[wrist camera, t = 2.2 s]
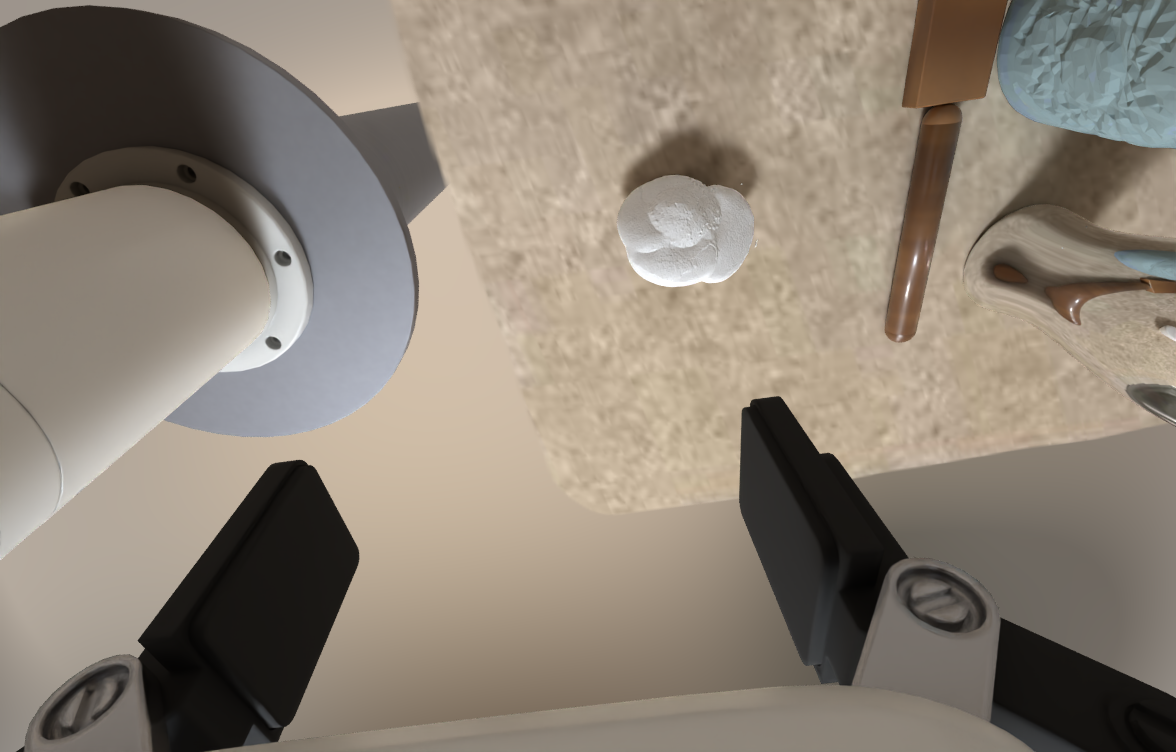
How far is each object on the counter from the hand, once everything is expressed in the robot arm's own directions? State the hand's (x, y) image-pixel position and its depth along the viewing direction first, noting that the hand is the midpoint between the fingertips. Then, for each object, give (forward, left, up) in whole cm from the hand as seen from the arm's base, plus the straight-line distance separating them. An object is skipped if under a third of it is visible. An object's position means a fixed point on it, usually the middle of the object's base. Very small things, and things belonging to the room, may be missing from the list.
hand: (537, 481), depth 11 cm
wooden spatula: (+19, 0, -18) cm, 27 cm away
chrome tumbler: (+26, -5, -19) cm, 32 cm away
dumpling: (+7, 0, -19) cm, 20 cm away
